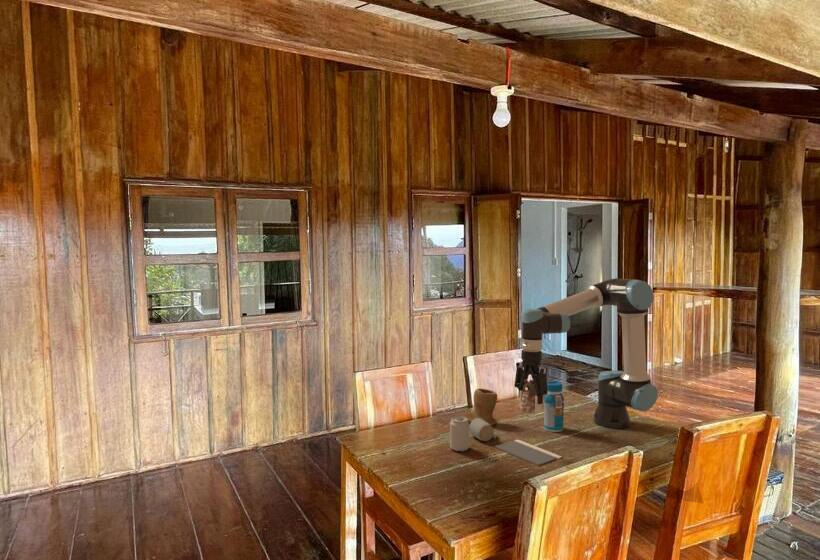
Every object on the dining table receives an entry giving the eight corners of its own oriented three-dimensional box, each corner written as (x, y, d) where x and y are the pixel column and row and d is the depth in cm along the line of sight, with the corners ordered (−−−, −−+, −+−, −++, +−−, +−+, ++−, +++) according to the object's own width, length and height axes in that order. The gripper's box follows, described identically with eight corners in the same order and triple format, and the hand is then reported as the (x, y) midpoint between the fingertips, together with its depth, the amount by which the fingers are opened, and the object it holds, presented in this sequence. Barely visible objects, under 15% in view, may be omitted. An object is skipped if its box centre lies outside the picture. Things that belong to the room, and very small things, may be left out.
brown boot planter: (502, 422, 239) (502, 389, 238) (488, 429, 230) (488, 395, 229) (474, 415, 248) (474, 383, 247) (459, 422, 239) (459, 389, 238)
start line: (517, 440, 217) (517, 439, 217) (561, 457, 199) (561, 456, 199) (514, 441, 216) (514, 440, 216) (558, 458, 198) (558, 457, 198)
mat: (512, 441, 215) (512, 440, 215) (556, 459, 197) (556, 458, 197) (494, 447, 209) (494, 446, 209) (538, 465, 192) (538, 464, 192)
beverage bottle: (542, 431, 227) (542, 384, 226) (544, 424, 235) (545, 380, 234) (562, 433, 224) (563, 386, 223) (564, 427, 232) (565, 381, 231)
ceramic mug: (480, 443, 213) (480, 424, 213) (468, 437, 220) (468, 419, 220) (501, 439, 218) (501, 421, 218) (489, 433, 225) (489, 415, 225)
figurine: (535, 414, 199) (536, 383, 199) (517, 411, 203) (518, 380, 203) (542, 410, 205) (543, 379, 205) (524, 407, 209) (525, 376, 209)
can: (471, 446, 210) (471, 416, 210) (466, 453, 203) (466, 422, 203) (452, 444, 213) (452, 414, 212) (447, 451, 206) (447, 420, 205)
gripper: (505, 346, 209) (504, 404, 210) (545, 355, 193) (543, 418, 194) (519, 344, 213) (517, 401, 215) (559, 353, 197) (557, 414, 198)
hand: (530, 409), depth 204 cm, fingers closed on figurine, 7 cm apart
